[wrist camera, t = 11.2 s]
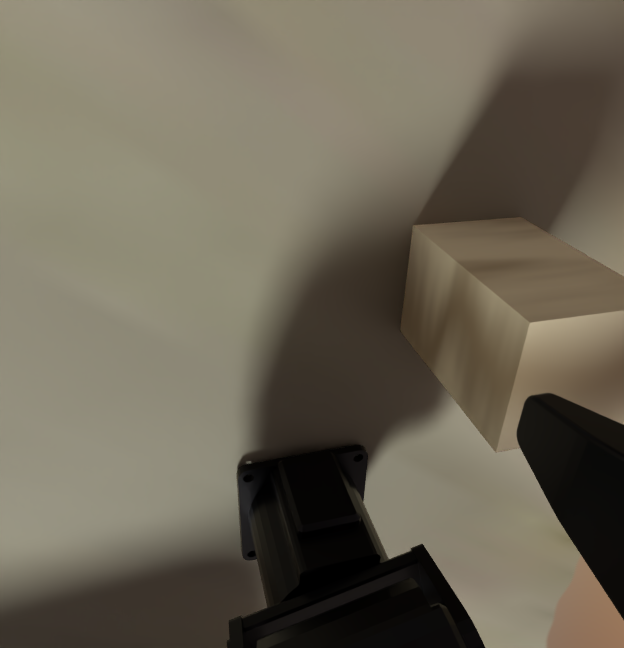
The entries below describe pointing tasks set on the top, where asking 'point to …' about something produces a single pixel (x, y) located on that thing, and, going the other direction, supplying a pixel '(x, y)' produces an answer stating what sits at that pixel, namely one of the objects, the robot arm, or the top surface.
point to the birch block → (513, 321)
